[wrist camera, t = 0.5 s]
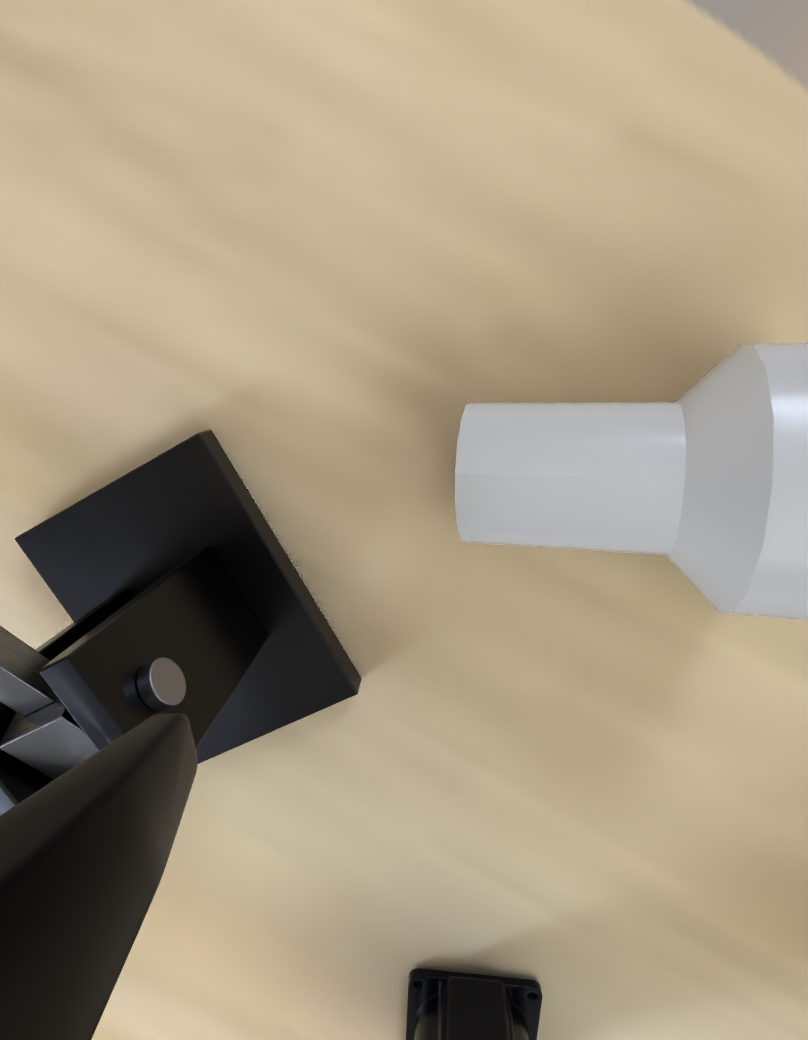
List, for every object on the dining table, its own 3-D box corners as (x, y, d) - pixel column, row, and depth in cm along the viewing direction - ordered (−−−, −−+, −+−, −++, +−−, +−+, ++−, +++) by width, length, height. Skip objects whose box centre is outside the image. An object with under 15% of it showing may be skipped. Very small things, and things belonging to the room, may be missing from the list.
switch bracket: (34, 529, 24) (-236, 641, 14) (211, 428, 22) (35, 481, 13) (192, 754, 26) (49, 974, 17) (362, 678, 25) (309, 877, 15)
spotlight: (787, 595, 21) (919, 666, 13) (475, 571, 24) (430, 617, 16) (808, 367, 20) (958, 299, 12) (483, 373, 23) (440, 321, 15)
